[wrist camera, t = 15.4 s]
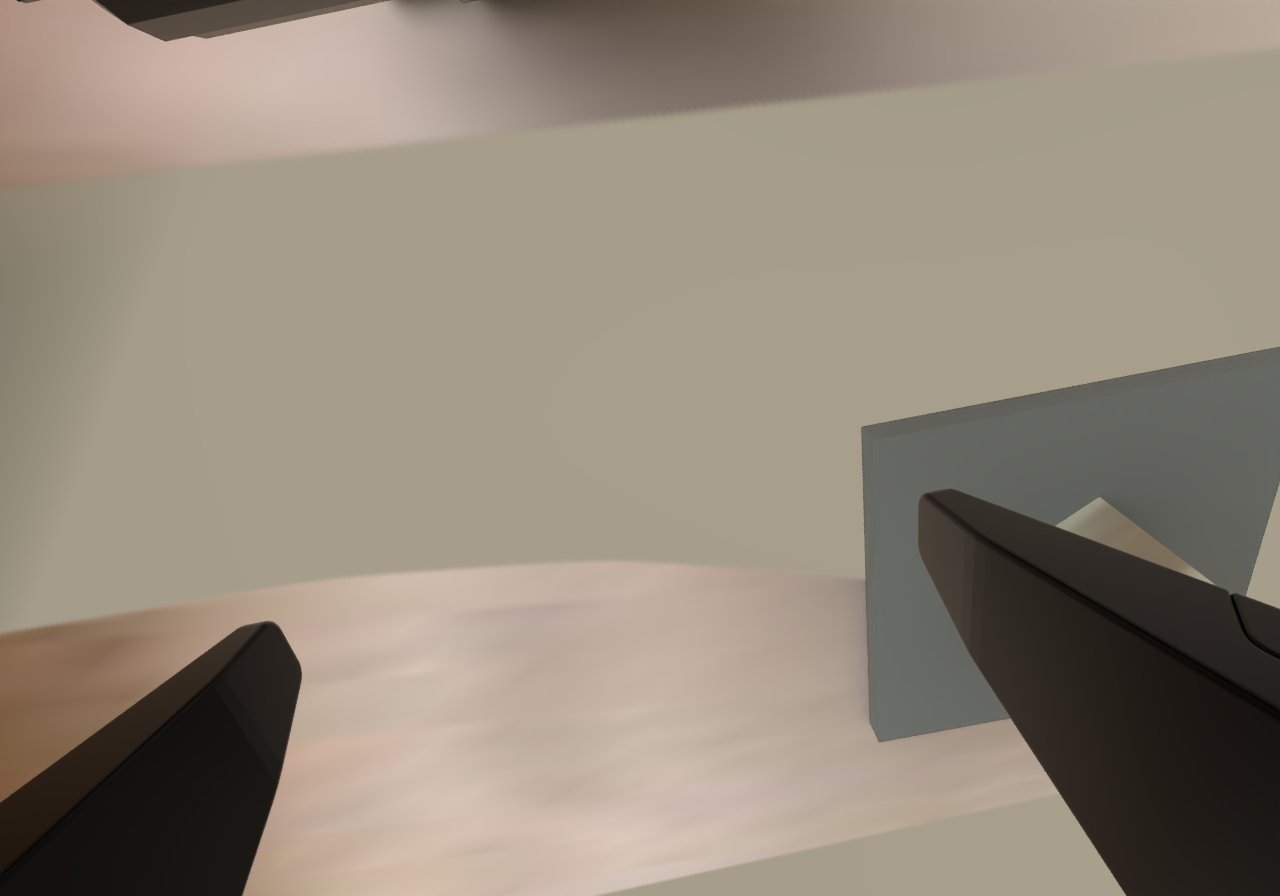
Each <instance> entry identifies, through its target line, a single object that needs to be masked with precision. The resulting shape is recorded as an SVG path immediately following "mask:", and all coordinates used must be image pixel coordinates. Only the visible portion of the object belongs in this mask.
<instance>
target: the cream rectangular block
mask: <svg viewBox="0 0 1280 896" xmlns="http://www.w3.org/2000/svg"><path fill="white" fill-rule="evenodd" d="M1056 527H1059V528H1061V529H1064V530H1067V531H1070V532H1072V533H1075V534H1078V535H1080V536H1083V537H1086V538H1089V539H1091V540H1094V541H1097V542H1099V543H1102V544H1105V545H1107V546H1110V547H1113V548H1116V549H1118V550H1121V551H1124V552H1126V553H1129V554H1132V555H1135V556H1137V557H1140V558H1143V559H1145V560H1148V561H1151V562H1154V563H1156V564H1159V565H1162V566H1164V567H1167V568H1170V569H1173V570H1175V571H1178V572H1181V573H1183V574H1186V575H1189V576H1192V577H1194V578H1197V579H1200V580H1202V581H1205V582H1208V583H1211V584H1213V585H1215V584H1214V583H1212V582H1211V581H1210V580H1208V579H1207V578H1206V577H1204V576H1203V575H1202V574H1200V573H1199V572H1198V571H1196V570H1195V569H1194V568H1193V567H1191V566H1190V565H1189V564H1187V563H1186V562H1185V561H1183V560H1182V559H1181V558H1179V557H1178V556H1177V555H1175V554H1174V553H1173V552H1171V551H1170V550H1169V549H1168V548H1166V547H1165V546H1164V545H1162V544H1161V543H1160V542H1158V541H1157V540H1156V539H1154V538H1153V537H1152V536H1150V535H1149V534H1148V533H1146V532H1145V531H1144V530H1143V529H1141V528H1140V527H1139V526H1137V525H1136V524H1135V523H1133V522H1132V521H1131V520H1129V519H1128V518H1127V517H1125V516H1124V515H1123V514H1121V513H1120V512H1119V511H1118V510H1116V509H1115V508H1114V507H1112V506H1111V505H1110V504H1108V503H1107V502H1106V501H1104V500H1103V499H1102V498H1100V497H1099V498H1097V499H1095V500H1094V501H1092V502H1091V503H1089V504H1088V505H1086V506H1085V507H1083V508H1082V509H1080V510H1079V511H1077V512H1076V513H1074V514H1073V515H1071V516H1070V517H1068V518H1067V519H1065V520H1064V521H1062V522H1061V523H1059V524H1058V525H1056Z"/></svg>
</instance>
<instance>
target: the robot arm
mask: <svg viewBox="0 0 1280 896" xmlns="http://www.w3.org/2000/svg"><path fill="white" fill-rule="evenodd" d="M17 1H18V2H24V3H29V2H34V1H39V0H17ZM93 1H94V2H95V3H97V4H98V5H99V6H100V7H102V8H103V9H105V10H106V11H108V12H109V13H111V14H112V15H114V16H115V17H117V18H118V19H120V20H121V21H123V22H124V23H126V24H127V25H129V26H132V27H134V28H136V29H138V30H141V31H143V32H145V33H147V34H150V35H152V36H154V37H156V38H159V39H161V40H163V41H170V40H175V39H180V38H185V37H190V36H196V37H201V38H206V39H207V38H212V37H216V36H221V35H226V34H231V33H236V32H240V31H245V30H250V29H255V28H260V27H264V26H269V25H274V24H279V23H283V22H288V21H293V20H298V19H303V18H307V17H312V16H317V15H322V14H327V13H331V12H336V11H341V10H346V9H350V8H355V7H360V6H365V5H370V4H374V3H379V2H384V1H389V0H93ZM460 1H461V2H463V3H464V2H470V1H475V0H460ZM918 548H919V552H920V556H921V559H922V561H923V563H924V565H925V567H926V569H927V571H928V573H929V575H930V577H931V579H932V581H933V583H934V585H935V587H936V589H937V591H938V593H939V595H940V597H941V599H942V601H943V603H944V605H945V607H946V609H947V611H948V613H949V615H950V617H951V619H952V621H953V623H954V625H955V627H956V629H957V631H958V633H959V635H960V637H961V639H962V641H963V643H964V645H965V647H966V649H967V651H968V652H969V654H970V656H971V657H972V659H973V661H974V662H975V664H976V666H977V667H978V669H979V670H980V672H981V673H982V675H983V676H984V678H985V680H986V681H987V683H988V684H989V686H990V687H991V689H992V690H993V692H994V693H995V695H996V696H997V698H998V699H999V701H1000V703H1001V704H1002V706H1003V707H1004V709H1005V710H1006V712H1007V713H1008V715H1009V716H1010V718H1011V719H1012V721H1013V723H1014V724H1015V726H1016V727H1017V729H1018V730H1019V732H1020V733H1021V735H1022V736H1023V738H1024V739H1025V741H1026V742H1027V744H1028V746H1029V747H1030V749H1031V750H1032V752H1033V753H1034V755H1035V756H1036V758H1037V759H1038V761H1039V762H1040V764H1041V765H1042V767H1043V769H1044V770H1045V772H1046V773H1047V775H1048V776H1049V778H1050V779H1051V781H1052V782H1053V784H1054V785H1055V787H1056V789H1057V790H1058V792H1059V793H1060V795H1061V796H1062V798H1063V799H1064V801H1065V802H1066V804H1067V805H1068V807H1069V808H1070V810H1071V812H1072V813H1073V814H1074V816H1075V818H1076V819H1077V820H1078V822H1079V824H1080V825H1081V827H1082V828H1083V830H1084V831H1085V833H1086V835H1087V836H1088V838H1089V839H1090V840H1091V842H1092V844H1093V845H1094V847H1095V848H1096V850H1097V851H1098V853H1099V854H1100V856H1101V858H1102V859H1103V861H1104V862H1105V864H1106V865H1107V867H1108V868H1109V870H1110V871H1111V873H1112V874H1113V876H1114V878H1115V879H1116V881H1117V882H1118V884H1119V885H1120V887H1121V888H1122V890H1123V891H1124V893H1125V894H1126V896H1280V609H1279V608H1276V607H1273V606H1270V605H1268V604H1265V603H1262V602H1260V601H1257V600H1254V599H1252V598H1248V597H1246V596H1244V595H1241V594H1238V593H1233V594H1231V595H1230V593H1229V591H1228V590H1226V589H1224V588H1221V587H1219V586H1216V585H1213V584H1211V583H1208V582H1205V581H1202V580H1200V579H1197V578H1194V577H1192V576H1189V575H1186V574H1183V573H1181V572H1178V571H1175V570H1173V569H1170V568H1167V567H1164V566H1162V565H1159V564H1156V563H1154V562H1151V561H1148V560H1145V559H1143V558H1140V557H1137V556H1135V555H1132V554H1129V553H1126V552H1124V551H1121V550H1118V549H1116V548H1113V547H1110V546H1107V545H1105V544H1102V543H1099V542H1097V541H1094V540H1091V539H1089V538H1086V537H1083V536H1080V535H1078V534H1075V533H1072V532H1070V531H1067V530H1064V529H1061V528H1059V527H1056V526H1053V525H1051V524H1048V523H1045V522H1042V521H1040V520H1037V519H1034V518H1032V517H1029V516H1026V515H1023V514H1021V513H1018V512H1015V511H1013V510H1010V509H1007V508H1004V507H1002V506H999V505H996V504H994V503H991V502H988V501H985V500H983V499H980V498H977V497H975V496H972V495H969V494H966V493H964V492H961V491H958V490H956V489H952V488H946V489H942V490H937V491H931V492H926V493H923V494H922V495H921V496H920V499H919V502H918ZM301 680H302V671H301V666H300V663H299V661H298V659H297V657H296V655H295V654H294V652H293V650H292V648H291V646H290V645H289V643H288V641H287V639H286V637H285V636H284V634H283V632H282V630H281V629H280V627H279V626H278V625H277V624H276V623H274V622H271V621H265V622H259V623H254V624H249V625H244V626H242V627H240V628H238V629H236V630H235V631H234V632H232V633H231V634H230V635H228V636H227V637H226V638H224V639H223V640H221V641H220V642H219V643H217V644H216V645H215V646H213V647H212V648H211V649H209V650H208V651H206V652H205V653H204V654H202V655H201V656H200V657H198V658H197V659H195V660H194V661H193V662H191V663H190V664H189V665H187V666H186V667H185V668H183V669H182V670H180V671H179V672H178V673H176V674H175V675H174V676H172V677H171V678H170V679H168V680H167V681H165V682H164V683H163V684H161V685H160V686H159V687H157V688H156V689H155V690H153V691H152V692H150V693H149V694H148V695H146V696H145V697H144V698H142V699H141V700H140V701H138V702H137V703H135V704H134V705H133V706H131V707H130V708H129V709H127V710H126V711H124V712H123V713H122V714H120V715H119V716H118V717H116V718H115V719H114V720H112V721H111V722H109V723H108V724H107V725H105V726H104V727H103V728H101V729H100V730H99V731H97V732H96V733H94V734H93V735H92V736H90V737H89V738H88V739H86V740H85V741H84V742H82V743H81V744H79V745H78V746H77V747H75V748H74V749H73V750H71V751H70V752H68V753H67V754H66V755H64V756H63V757H62V758H60V759H59V760H58V761H56V762H55V763H53V764H52V765H51V766H49V767H48V768H47V769H45V770H44V771H43V772H41V773H40V774H38V775H37V776H36V777H34V778H33V779H32V780H30V781H29V782H28V783H26V784H25V785H23V786H22V787H21V788H19V789H18V790H17V791H15V792H14V793H13V794H11V795H10V796H8V797H7V798H6V799H4V800H3V801H2V802H0V896H242V895H243V892H244V889H245V886H246V883H247V880H248V877H249V874H250V871H251V868H252V865H253V862H254V859H255V856H256V853H257V850H258V847H259V844H260V841H261V837H262V834H263V831H264V828H265V825H266V822H267V819H268V816H269V813H270V810H271V807H272V804H273V801H274V797H275V794H276V791H277V787H278V784H279V780H280V776H281V772H282V768H283V764H284V759H285V754H286V750H287V745H288V741H289V736H290V731H291V727H292V722H293V718H294V713H295V708H296V704H297V699H298V695H299V690H300V686H301Z"/></svg>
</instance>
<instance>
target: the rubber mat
mask: <svg viewBox="0 0 1280 896" xmlns="http://www.w3.org/2000/svg"><path fill="white" fill-rule="evenodd" d="M861 430H862V463H863V464H862V466H863V497H864V498H863V499H864V500H863V501H864V534H865V569H866V605H867V640H868V674H869V709H870V724H871V726H872V728H873V730H874V733H875V735H876V737H877V739H878V741H879V742H884V741H889V740H895V739H900V738H906V737H911V736H916V735H922V734H927V733H933V732H938V731H943V730H949V729H954V728H960V727H965V726H970V725H976V724H981V723H987V722H992V721H997V720H1003V719H1008V718H1010V716H1009V715H1008V713H1007V712H1006V710H1005V709H1004V707H1003V706H1002V704H1001V703H1000V701H999V699H998V698H997V696H996V695H995V693H994V692H993V690H992V689H991V687H990V686H989V684H988V683H987V681H986V680H985V678H984V676H983V675H982V673H981V672H980V670H979V669H978V667H977V666H976V664H975V662H974V661H973V659H972V657H971V656H970V654H969V652H968V651H967V649H966V647H965V645H964V643H963V641H962V639H961V637H960V635H959V633H958V631H957V629H956V627H955V625H954V623H953V621H952V619H951V617H950V615H949V613H948V611H947V609H946V607H945V605H944V603H943V601H942V599H941V597H940V595H939V593H938V591H937V589H936V587H935V585H934V583H933V581H932V579H931V577H930V575H929V573H928V571H927V569H926V567H925V565H924V563H923V561H922V559H921V556H920V552H919V548H918V502H919V499H920V496H921V495H922V494H923V493H926V492H931V491H937V490H942V489H946V488H952V489H956V490H958V491H961V492H964V493H966V494H969V495H972V496H975V497H977V498H980V499H983V500H985V501H988V502H991V503H994V504H996V505H999V506H1002V507H1004V508H1007V509H1010V510H1013V511H1015V512H1018V513H1021V514H1023V515H1026V516H1029V517H1032V518H1034V519H1037V520H1040V521H1042V522H1045V523H1048V524H1051V525H1053V526H1056V525H1058V524H1059V523H1061V522H1062V521H1064V520H1065V519H1067V518H1068V517H1070V516H1071V515H1073V514H1074V513H1076V512H1077V511H1079V510H1080V509H1082V508H1083V507H1085V506H1086V505H1088V504H1089V503H1091V502H1092V501H1094V500H1095V499H1097V498H1099V497H1100V498H1102V499H1103V500H1104V501H1106V502H1107V503H1108V504H1110V505H1111V506H1112V507H1114V508H1115V509H1116V510H1118V511H1119V512H1120V513H1121V514H1123V515H1124V516H1125V517H1127V518H1128V519H1129V520H1131V521H1132V522H1133V523H1135V524H1136V525H1137V526H1139V527H1140V528H1141V529H1143V530H1144V531H1145V532H1146V533H1148V534H1149V535H1150V536H1152V537H1153V538H1154V539H1156V540H1157V541H1158V542H1160V543H1161V544H1162V545H1164V546H1165V547H1166V548H1168V549H1169V550H1170V551H1171V552H1173V553H1174V554H1175V555H1177V556H1178V557H1179V558H1181V559H1182V560H1183V561H1185V562H1186V563H1187V564H1189V565H1190V566H1191V567H1193V568H1194V569H1195V570H1196V571H1198V572H1199V573H1200V574H1202V575H1203V576H1204V577H1206V578H1207V579H1208V580H1210V581H1211V582H1212V583H1214V584H1215V585H1216V586H1219V587H1221V588H1224V589H1226V590H1228V591H1229V593H1230V595H1231V594H1233V593H1238V594H1241V595H1244V596H1246V593H1247V589H1248V586H1249V583H1250V579H1251V576H1252V573H1253V569H1254V565H1255V562H1256V559H1257V555H1258V553H1259V549H1260V545H1261V543H1262V539H1263V536H1264V532H1265V529H1266V526H1267V522H1268V519H1269V516H1270V512H1271V509H1272V506H1273V502H1274V499H1275V496H1276V492H1277V489H1278V486H1279V482H1280V347H1276V348H1271V349H1266V350H1261V351H1255V352H1250V353H1245V354H1239V355H1234V356H1230V357H1224V358H1219V359H1213V360H1208V361H1203V362H1198V363H1193V364H1187V365H1182V366H1177V367H1172V368H1167V369H1161V370H1156V371H1151V372H1146V373H1140V374H1135V375H1130V376H1125V377H1120V378H1114V379H1109V380H1104V381H1098V382H1093V383H1088V384H1083V385H1078V386H1072V387H1067V388H1062V389H1057V390H1051V391H1046V392H1041V393H1036V394H1031V395H1025V396H1020V397H1015V398H1010V399H1004V400H999V401H994V402H989V403H983V404H978V405H973V406H968V407H963V408H957V409H952V410H947V411H942V412H936V413H931V414H926V415H921V416H916V417H910V418H905V419H900V420H895V421H889V422H885V423H879V424H874V425H868V426H864V427H861Z"/></svg>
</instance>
